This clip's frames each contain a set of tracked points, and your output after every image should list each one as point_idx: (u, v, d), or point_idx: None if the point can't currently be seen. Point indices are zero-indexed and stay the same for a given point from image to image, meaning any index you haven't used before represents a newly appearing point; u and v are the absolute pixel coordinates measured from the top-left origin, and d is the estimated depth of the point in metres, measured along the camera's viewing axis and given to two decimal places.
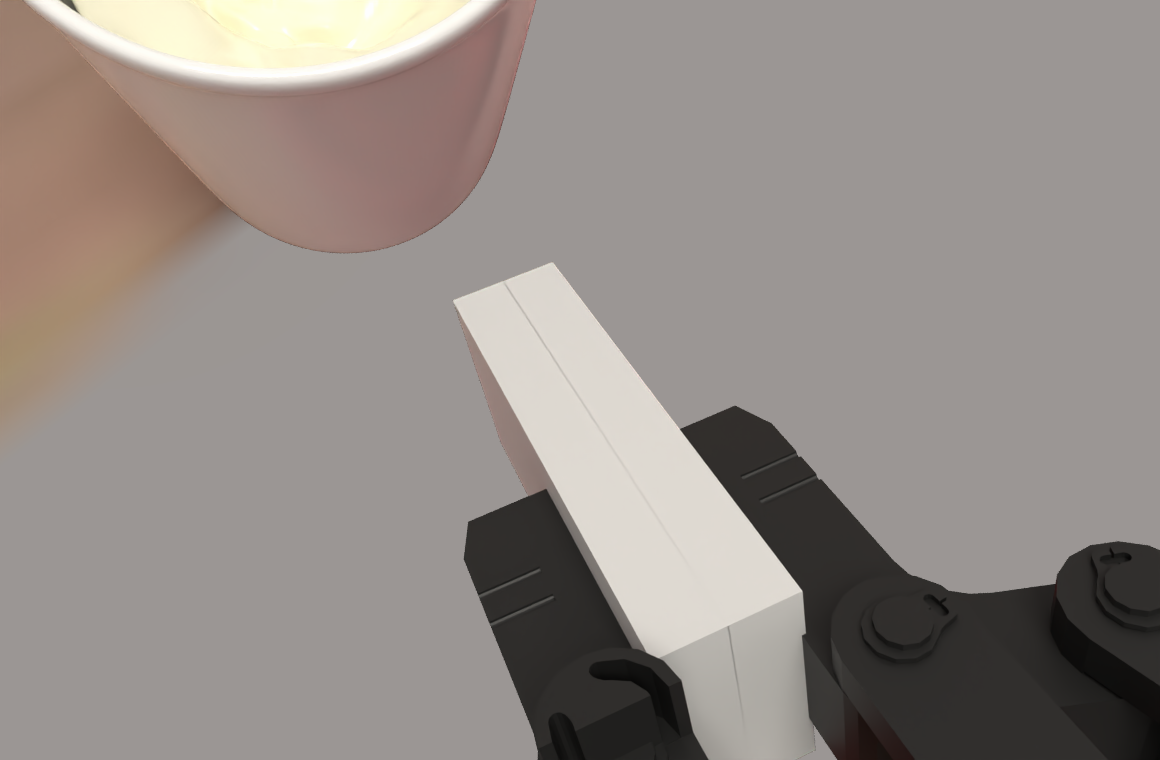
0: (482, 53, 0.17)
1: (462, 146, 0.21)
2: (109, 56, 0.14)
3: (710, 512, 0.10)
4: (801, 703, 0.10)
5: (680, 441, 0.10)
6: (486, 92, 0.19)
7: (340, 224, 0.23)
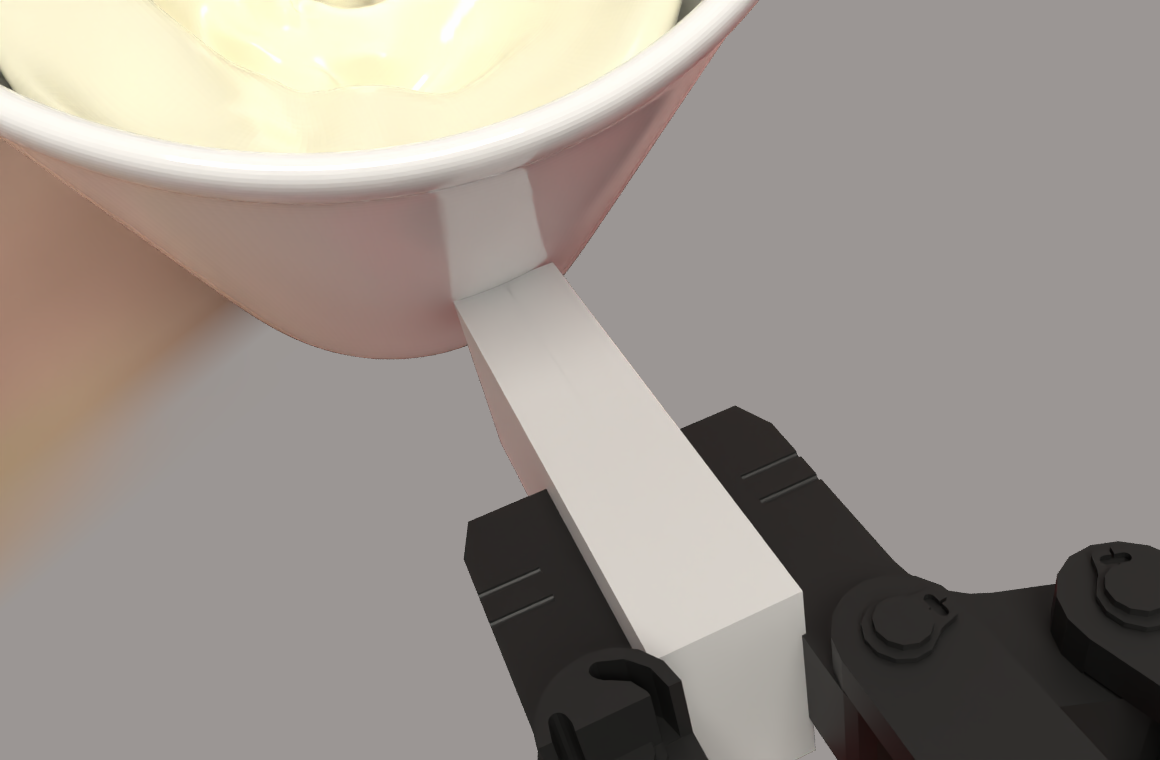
0: (670, 106, 0.10)
1: (585, 231, 0.14)
2: (0, 133, 0.07)
3: (710, 512, 0.10)
4: (801, 703, 0.10)
5: (680, 441, 0.10)
6: (641, 158, 0.12)
7: (397, 337, 0.16)
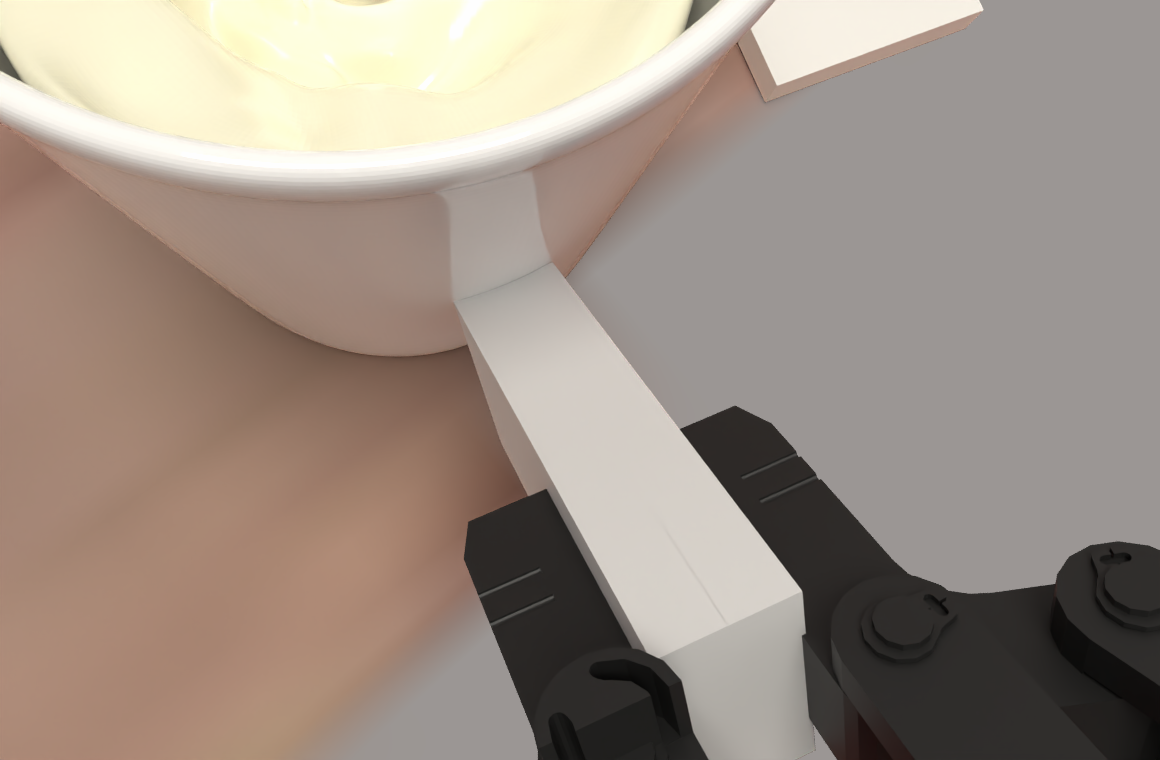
0: (674, 113, 0.10)
1: (587, 235, 0.14)
2: (4, 122, 0.07)
3: (710, 512, 0.10)
4: (801, 703, 0.10)
5: (680, 441, 0.10)
6: (645, 164, 0.12)
7: (397, 335, 0.16)
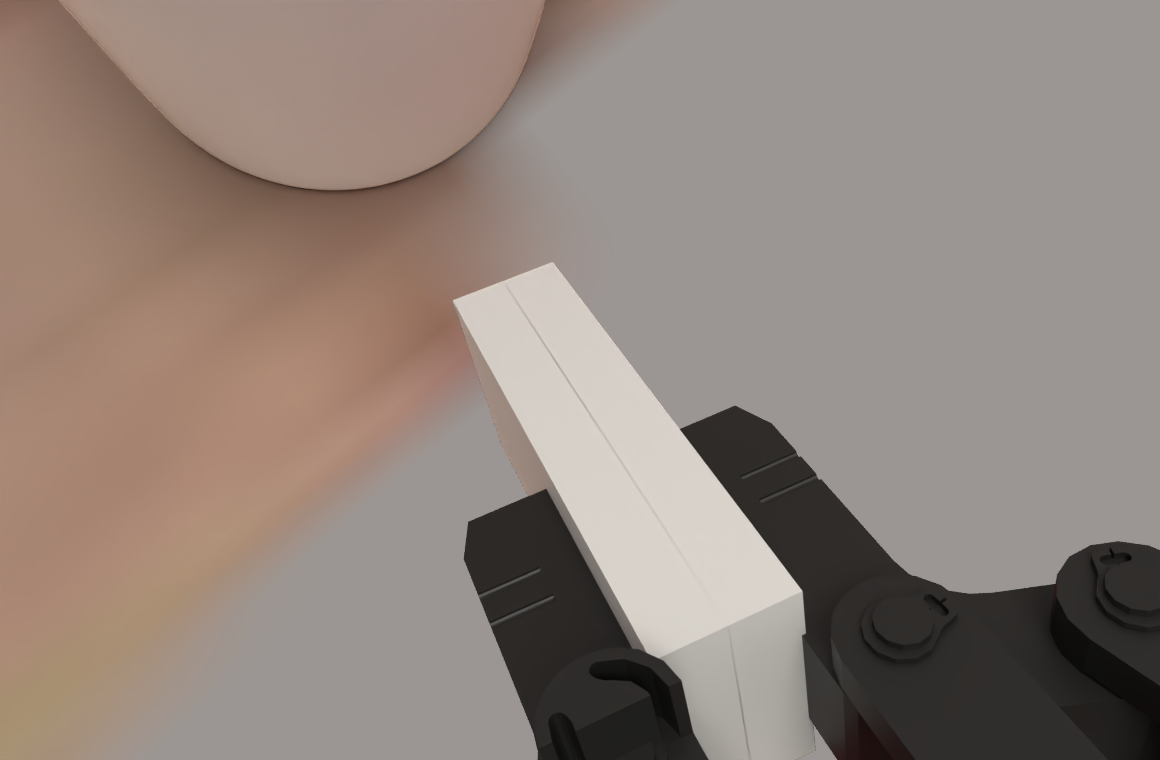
0: None
1: (488, 17, 0.15)
2: None
3: (710, 512, 0.10)
4: (801, 703, 0.10)
5: (680, 441, 0.10)
6: None
7: (313, 136, 0.16)
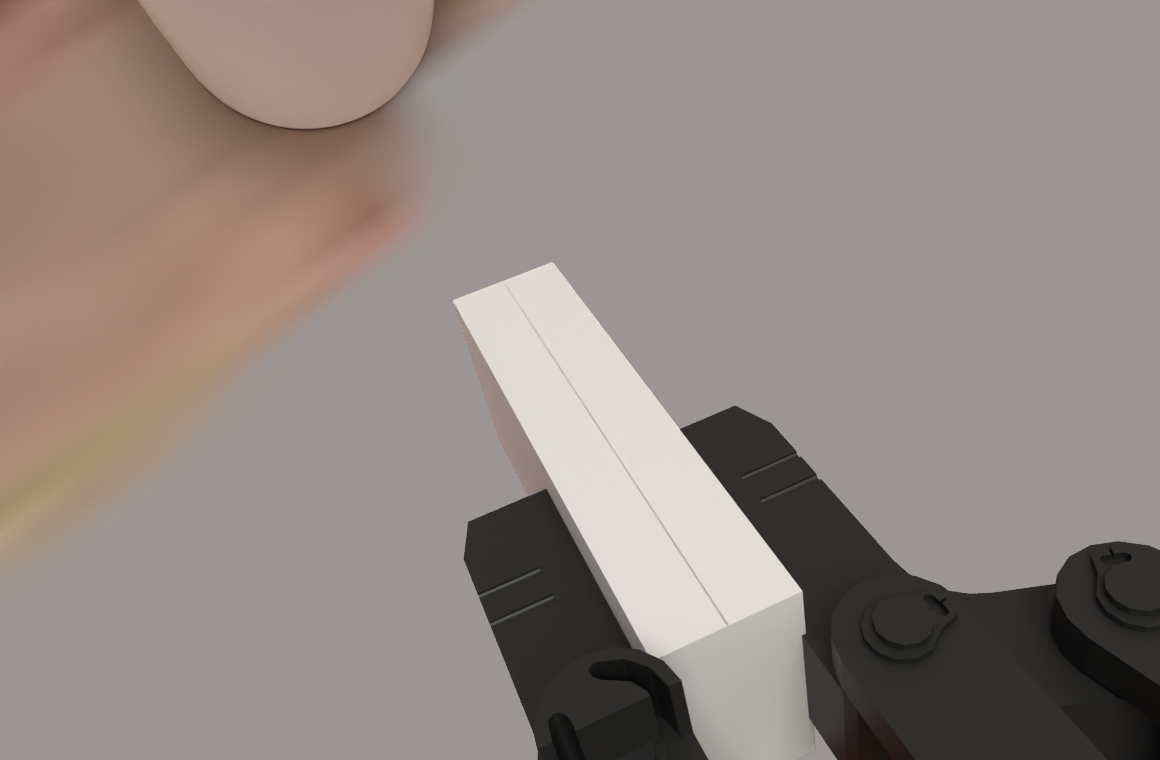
0: None
1: (381, 21, 0.27)
2: None
3: (710, 512, 0.10)
4: (801, 703, 0.10)
5: (680, 441, 0.10)
6: None
7: (288, 90, 0.28)
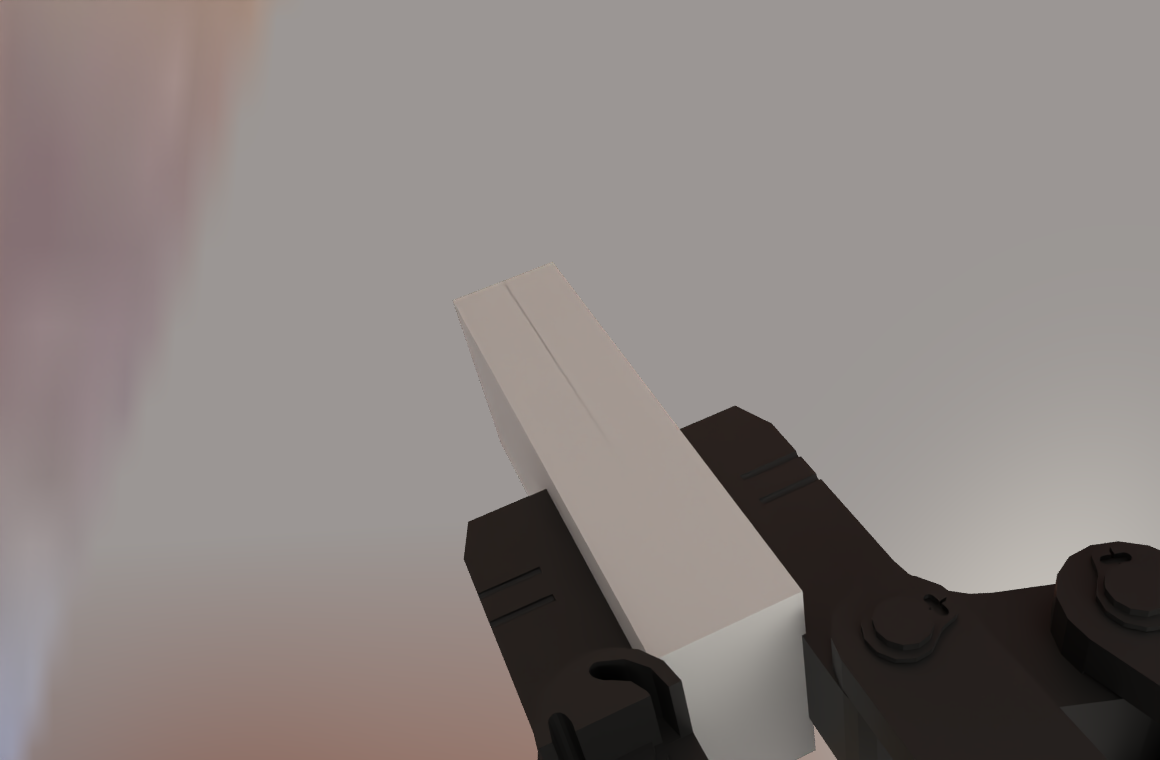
0: None
1: None
2: None
3: (710, 512, 0.10)
4: (801, 703, 0.10)
5: (680, 441, 0.10)
6: None
7: None
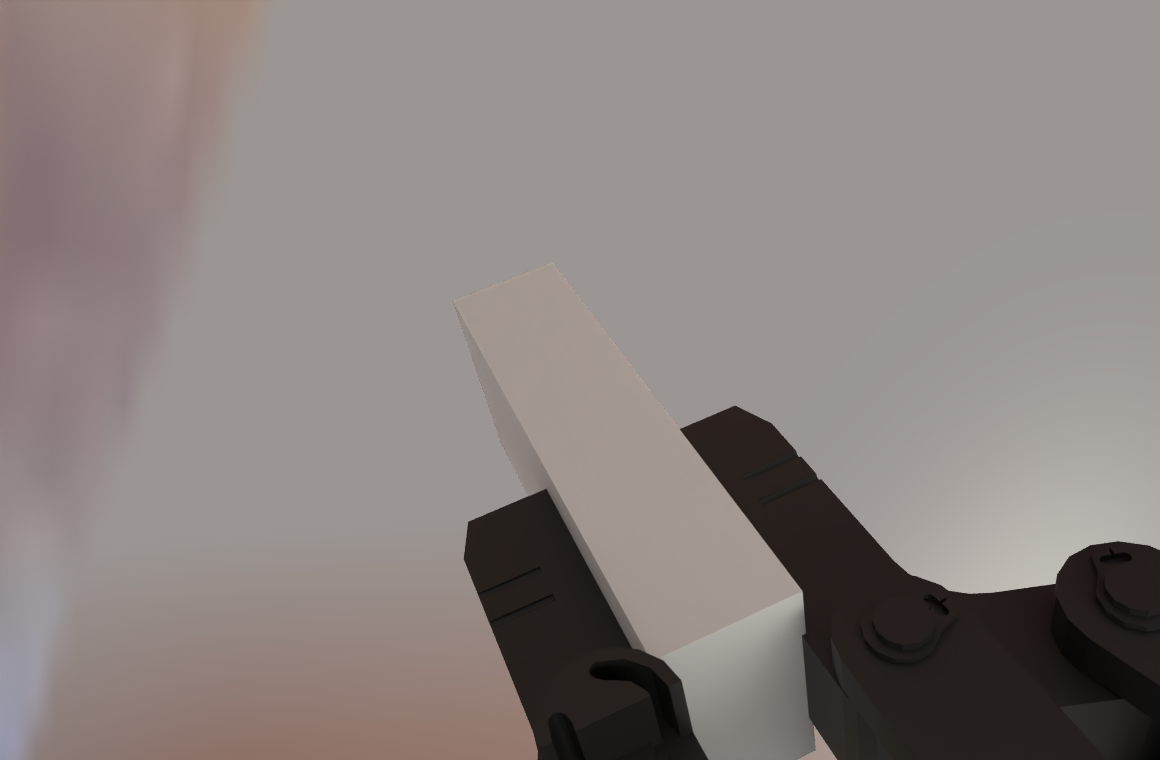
0: None
1: None
2: None
3: (710, 512, 0.10)
4: (801, 703, 0.10)
5: (680, 441, 0.10)
6: None
7: None
